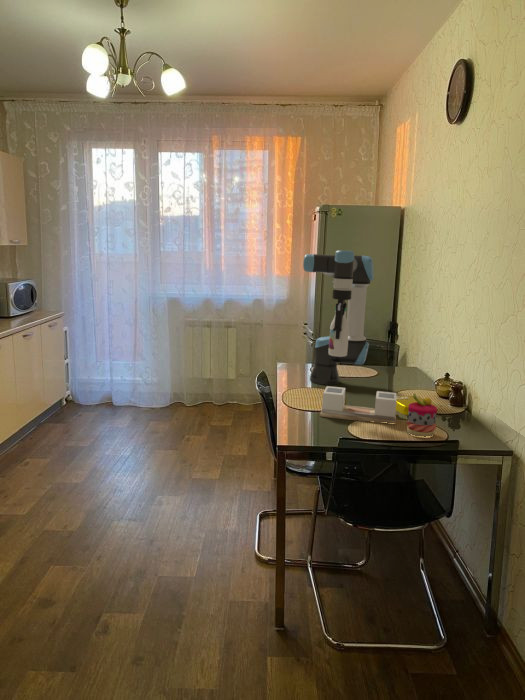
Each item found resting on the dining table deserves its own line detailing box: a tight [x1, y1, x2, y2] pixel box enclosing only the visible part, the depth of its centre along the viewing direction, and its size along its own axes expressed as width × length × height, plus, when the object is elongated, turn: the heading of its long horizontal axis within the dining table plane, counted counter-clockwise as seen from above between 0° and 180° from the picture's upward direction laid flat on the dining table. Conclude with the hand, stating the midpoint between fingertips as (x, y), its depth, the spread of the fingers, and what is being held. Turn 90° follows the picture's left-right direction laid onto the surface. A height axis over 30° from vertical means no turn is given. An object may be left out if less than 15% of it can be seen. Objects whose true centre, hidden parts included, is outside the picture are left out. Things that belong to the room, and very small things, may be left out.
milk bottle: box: [328, 306, 349, 357], centre depth 216 cm, size 8×8×20 cm
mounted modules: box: [321, 385, 397, 417], centre depth 218 cm, size 12×29×8 cm, turn 76°
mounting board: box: [319, 404, 397, 424], centre depth 219 cm, size 15×30×3 cm, turn 76°
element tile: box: [396, 395, 436, 416], centre depth 230 cm, size 15×15×5 cm
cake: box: [405, 393, 438, 437], centre depth 198 cm, size 10×11×15 cm
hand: (338, 345), depth 217 cm, fingers closed on milk bottle, 8 cm apart
